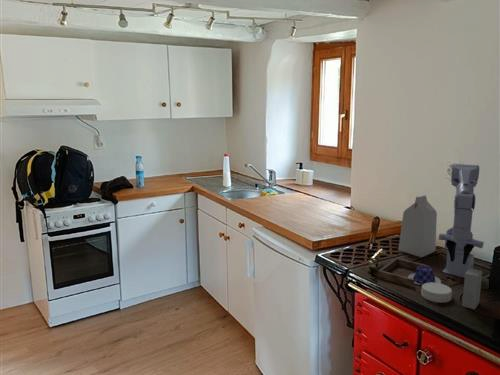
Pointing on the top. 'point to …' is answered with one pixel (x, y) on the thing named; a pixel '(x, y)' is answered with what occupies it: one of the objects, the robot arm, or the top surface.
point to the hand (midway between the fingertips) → (458, 262)
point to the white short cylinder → (436, 292)
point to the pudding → (424, 275)
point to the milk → (418, 228)
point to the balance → (376, 260)
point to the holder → (399, 279)
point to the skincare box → (472, 288)
